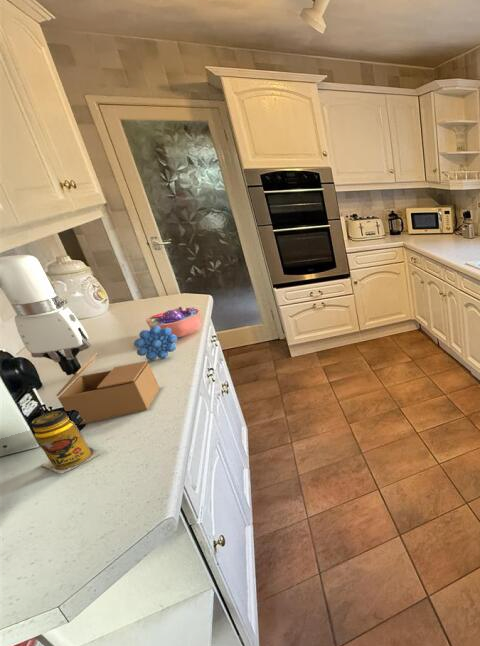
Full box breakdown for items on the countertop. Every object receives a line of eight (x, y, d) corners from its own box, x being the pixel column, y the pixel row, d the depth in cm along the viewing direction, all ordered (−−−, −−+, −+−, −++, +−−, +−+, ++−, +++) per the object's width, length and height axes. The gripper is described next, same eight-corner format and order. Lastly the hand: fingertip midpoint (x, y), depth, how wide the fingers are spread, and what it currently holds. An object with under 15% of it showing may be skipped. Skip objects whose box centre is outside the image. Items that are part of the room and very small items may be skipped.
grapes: (184, 349, 144) (172, 319, 139) (183, 356, 139) (170, 324, 134) (143, 358, 138) (129, 326, 133) (140, 365, 133) (125, 333, 128)
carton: (74, 426, 102) (56, 395, 98) (93, 401, 112) (78, 373, 109) (147, 409, 108) (133, 380, 104) (159, 387, 119) (147, 360, 115)
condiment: (61, 474, 85) (33, 429, 81) (41, 465, 88) (12, 421, 83) (103, 453, 92) (79, 410, 87) (82, 445, 94) (58, 403, 90)
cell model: (208, 322, 169) (199, 297, 164) (204, 338, 153) (194, 311, 148) (158, 331, 161) (147, 305, 156) (149, 349, 145) (136, 320, 140)
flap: (58, 396, 98) (55, 395, 98) (79, 374, 109) (78, 373, 109) (77, 373, 99) (75, 372, 98) (97, 353, 109) (96, 353, 109)
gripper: (85, 297, 102) (116, 360, 109) (3, 308, 96) (42, 373, 103) (72, 305, 96) (106, 371, 103) (-16, 317, 90) (26, 386, 97)
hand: (74, 372), depth 103 cm, fingers closed
